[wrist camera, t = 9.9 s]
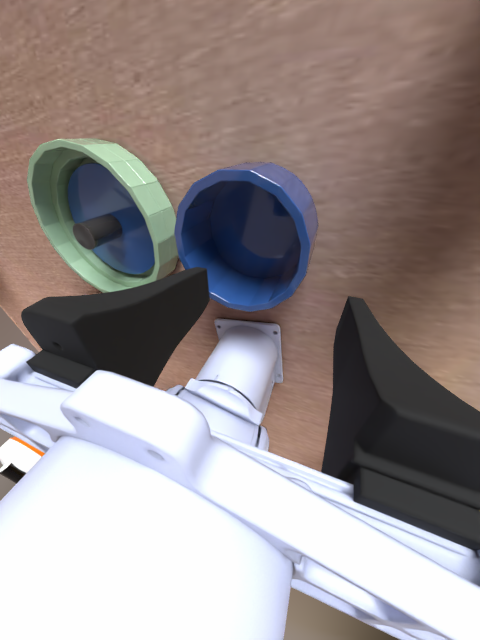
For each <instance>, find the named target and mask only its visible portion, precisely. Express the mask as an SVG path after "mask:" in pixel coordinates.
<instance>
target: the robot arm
mask: <svg viewBox="0 0 480 640" xmlns="http://www.w3.org/2000/svg"><path fill="white" fill-rule="evenodd" d="M209 301H210V298H209V286H208V274H207V269H206V268H201V267H194V268H190V269H187V270H184V271H182V272H179V273H176V274H174V275H171V276H168V277H165V278H163V279H160V280H157V281H154V282H151V283H148V284H144V285H141V286H137V287H133V288H129V289H124V290H119V291H113V292H107V293H101V294H93V295H82V296H64V297H47V298H44V299H42V300H40V301H38V302H36V303H35V304H33V305H31V306H29V307H27V308H26V309H24V310H23V311H22V313H21V317H22V321H23V323H24V325H25V326H26V328H27V330H28V331H29V332H30V334H31V335H32V336H33V338H34V339H35V340H36V342H37V343H38V344H39V346H40V347H41V348H42V349H43V350H42V351H41V352H39V353H38V354H35V353H34V352H33V351H31V350H29V349H26V348H24V347H21V346H18V345H16V344H11V345H9V346H7V347H6V348H4V349H3V350H1V351H0V428H1V429H3V430H5V431H7V432H8V433H10V434H12V435H14V436H15V437H17V438H19V439H21V440H22V441H24V442H26V443H28V444H29V445H31V446H33V447H35V448H36V449H38V450H40V451H41V452H43V453H45V454H44V455H43V456H42V457H41V459H40V460H39V461H38V462H37V463H36V464H35V465H34V466H33V467H32V468H31V469H30V470H29V471H28V472H27V473H26V474H25V475H24V477H23V478H22V479H21V480H20V481H19V482H18V483H17V484H16V485H15V486H14V487H13V488H12V489H11V490H10V491H9V492H8V493H7V494H6V496H5V497H4V498H3V499H2V500H1V501H0V640H283V638H284V631H285V623H286V617H287V609H288V602H289V595H290V587H292V588H295V589H297V590H299V591H301V592H303V593H305V594H307V595H309V596H311V597H313V598H315V599H317V600H319V601H321V602H323V603H325V604H328V605H330V606H332V607H334V608H336V609H338V610H340V611H342V612H344V613H346V614H348V615H350V616H352V617H354V618H357V619H359V620H360V621H363V622H365V623H367V624H369V625H371V626H373V627H375V628H377V629H379V630H381V631H383V632H385V633H387V634H389V635H392V636H393V637H396V638H398V639H400V640H480V412H479V411H478V410H476V409H475V408H473V407H472V406H470V405H468V404H467V403H465V402H464V401H462V400H461V399H460V398H458V397H457V396H455V395H454V394H453V393H451V392H450V391H448V390H447V389H446V388H444V387H443V386H442V385H440V384H439V383H438V382H436V381H435V380H434V379H433V378H431V377H430V376H429V375H428V374H427V373H425V372H424V371H423V370H422V369H421V368H420V367H418V366H417V365H416V364H415V363H414V362H413V361H412V360H411V359H410V358H409V357H408V356H407V355H406V354H405V353H404V352H403V351H402V350H401V349H400V348H399V347H398V346H397V345H396V344H395V343H394V342H393V341H392V339H391V338H390V337H389V336H388V335H387V333H386V332H385V331H384V329H383V328H382V327H381V325H380V324H379V323H378V321H377V320H376V318H375V317H374V315H373V314H372V312H371V311H370V309H369V308H368V306H367V305H366V303H365V301H364V300H363V299H361V298H356V297H351V296H348V299H347V301H346V304H345V307H344V310H343V312H342V315H341V318H340V321H339V323H338V326H337V329H336V334H335V341H334V351H333V396H332V404H331V412H330V419H329V426H328V433H327V440H326V446H325V453H324V459H323V465H322V471H321V472H319V471H316V470H314V469H311V468H309V467H306V466H304V465H301V464H298V463H296V462H293V461H291V460H288V459H286V458H283V457H280V456H278V455H275V454H273V453H270V452H268V449H269V437H268V435H267V430H266V428H265V427H263V426H261V425H260V424H261V423H262V421H263V419H264V416H265V413H266V409H267V406H268V403H269V400H270V396H271V393H272V390H273V386H274V383H275V382H276V383H282V382H283V367H282V350H281V333H280V326H279V325H278V324H272V323H261V322H251V321H241V320H230V319H220V318H217V319H216V320H215V326H216V330H217V334H218V338H219V342H218V344H217V346H216V347H215V349H214V350H213V352H212V353H211V355H210V357H209V358H208V360H207V361H206V363H205V364H204V366H203V368H202V369H201V371H200V372H199V374H198V376H197V377H196V379H193V378H191V379H190V380H189V382H188V383H187V385H186V387H184V386H182V385H176V386H175V387H172V388H170V389H168V390H167V391H163V390H160V389H158V388H155V387H153V386H154V385H155V383H156V381H157V379H158V377H159V375H160V373H161V372H162V370H163V368H164V366H165V365H166V363H167V361H168V359H169V358H170V356H171V355H172V353H173V351H174V350H175V348H176V347H177V345H178V344H179V343H180V341H181V340H182V339H183V337H184V336H185V335H186V334H187V332H188V331H189V330H190V329H191V327H192V326H193V325H194V324H195V322H196V321H197V320H198V319H199V317H200V316H201V315H202V313H203V311H204V310H205V308H206V306H207V304H208V302H209ZM219 325H220V326H219ZM274 331H276V332H277V333H276V332H274Z"/></svg>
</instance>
